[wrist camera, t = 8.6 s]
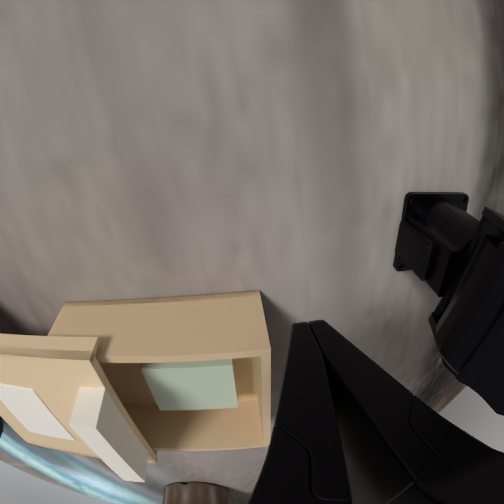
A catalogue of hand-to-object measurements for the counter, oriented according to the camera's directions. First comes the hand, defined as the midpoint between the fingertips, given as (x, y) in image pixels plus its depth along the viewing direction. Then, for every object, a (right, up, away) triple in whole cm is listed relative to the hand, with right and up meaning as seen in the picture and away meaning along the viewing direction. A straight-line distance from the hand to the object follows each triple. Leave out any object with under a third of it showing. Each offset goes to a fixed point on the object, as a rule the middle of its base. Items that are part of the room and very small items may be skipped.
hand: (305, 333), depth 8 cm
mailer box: (-9, -7, +18) cm, 21 cm away
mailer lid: (-19, -11, +13) cm, 25 cm away
